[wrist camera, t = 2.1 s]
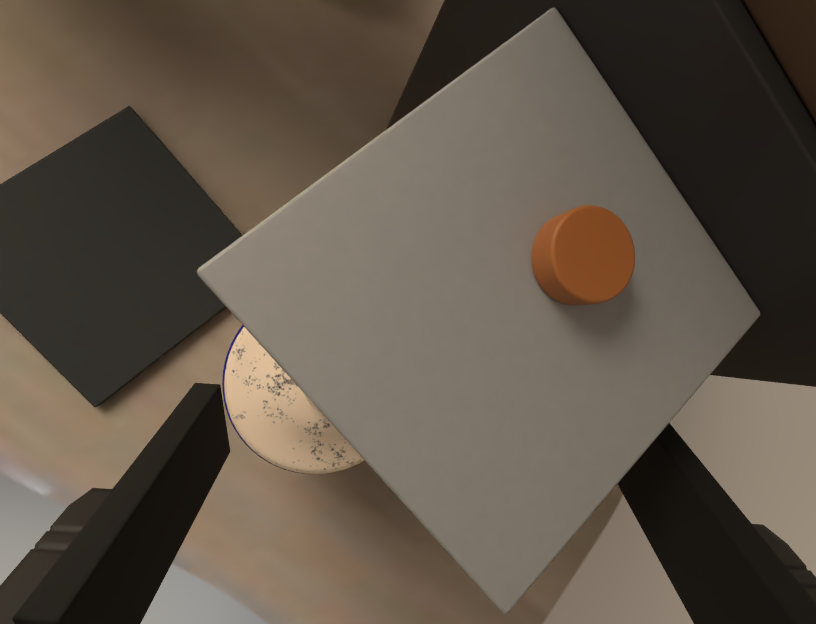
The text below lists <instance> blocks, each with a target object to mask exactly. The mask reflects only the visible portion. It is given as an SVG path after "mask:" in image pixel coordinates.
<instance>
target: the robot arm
mask: <svg viewBox="0 0 816 624" xmlns="http://www.w3.org/2000/svg"><path fill="white" fill-rule="evenodd" d="M229 453H230V447H229V440H228V434H227V427H226V420H225V414H224V407H223V400H222V394H221V387H220V385H218V384H203V383H195V384H194V385H193V386H192V388H191V389H190V390H189V392H188V393H187V394H186V395H185V397H184V398H183V399H182V401H181V402H180V403H179V404H178V406H177V407H176V408H175V410H174V411H173V412H172V413H171V415H170V416H169V417H168V419H167V420H166V421H165V422H164V424H163V425H162V426H161V428H160V429H159V430H158V431H157V433H156V434H155V435H154V437H153V438H152V439H151V440H150V442H149V443H148V444H147V446H146V447H145V448H144V449H143V451H142V452H141V453H140V455H139V456H138V457H137V458H136V460H135V461H134V462H133V464H132V465H131V466H130V467H129V469H128V470H127V471H126V473H125V474H124V475H123V476H122V478H121V479H120V480H119V482H118V483H117V484H116V485H115V487H114V488H113V489H99V488H92V489H91V490H90V491H88V492H87V493H85V494H84V495H83V496H81V497H80V498H79V499H77V500H76V501H74V502H73V503H72V504H70V505H69V506H68V507H67V508H66V510H65V511H64V512H63V513H62V514H61V515H60V517H59V518H58V519H57V520H56V521H55V522H54V523H53V525H52V526H51V529H50V531H47V532H46V533H45V534H44V535H43V536H42V538H41V539H40V540H39V541H38V542H37V543H36V545H35V548H34V549H32V550H30V552H29V553H28V554H27V555H26V556H25V558H24V559H23V560H22V561H21V562H20V563H19V564H18V566H17V567H16V568H15V569H14V570H13V571H12V573H11V574H10V575H9V576H8V577H7V579H6V580H5V581H4V582H3V583H2V585H0V624H140V623H141V621H142V619H143V617H144V616H145V614H146V612H147V610H148V608H149V606H150V604H151V602H152V600H153V598H154V596H155V594H156V593H157V591H158V589H159V587H160V585H161V582H162V581H163V579H164V577H165V575H166V573H167V571H168V569H169V568H170V566H171V564H172V562H173V560H174V558H175V556H176V554H177V552H178V550H179V548H180V547H181V545H182V543H183V541H184V539H185V537H186V535H187V533H188V531H189V529H190V527H191V525H192V524H193V522H194V520H195V518H196V516H197V514H198V512H199V510H200V508H201V506H202V504H203V502H204V501H205V499H206V497H207V495H208V493H209V491H210V489H211V487H212V485H213V483H214V481H215V479H216V478H217V476H218V474H219V472H220V470H221V468H222V466H223V464H224V462H225V460H226V458H227V457H228V455H229ZM618 486H619V487H620V489H621V491H622V493H623V495H624V497H625V498H626V500H627V502H628V504H629V506H630V508H631V509H632V511H633V513H634V515H635V517H636V518H637V520H638V522H639V524H640V526H641V528H642V529H643V531H644V533H645V535H646V537H647V538H648V540H649V542H650V544H651V546H652V548H653V550H654V551H655V553H656V555H657V557H658V559H659V561H660V562H661V564H662V566H663V568H664V569H665V571H666V573H667V575H668V577H669V579H670V580H671V582H672V584H673V586H674V588H675V590H676V591H677V593H678V595H679V597H680V599H681V601H682V603H683V604H684V606H685V608H686V610H687V611H688V613H689V615H690V617H691V619H692V621H693V623H694V624H816V577H815V576H814V575H813V573H812V572H811V571H808V570H807V569H806V565H805V564H804V563H803V562H802V561H801V559H799V557H798V556H797V555H796V554H795V553H794V551H793V550H792V549H791V548H790V547H789V545H788V544H787V543H785V542H784V541H783V540H781V539H780V538H779V537H778V536H777V535H775V534H774V533H773V532H771V531H770V530H769V529H768V528H767V527H765V526H764V525H758V524H751V523H750V521H749V520H748V519H747V518H746V517H745V515H744V514H743V513H742V512H741V510H740V509H739V508H738V507H737V505H736V504H735V503H734V502H733V501H732V499H731V498H730V497H729V496H728V494H727V493H726V492H725V491H724V490H723V488H722V487H721V486H720V485H719V483H718V482H717V481H716V480H715V479H714V477H713V476H712V475H711V474H710V472H709V471H708V470H707V469H706V468H705V466H704V465H703V464H702V463H701V461H700V460H699V459H698V458H697V456H696V455H695V454H694V453H693V452H692V450H691V449H690V448H689V447H688V446H687V444H686V443H685V442H684V441H683V439H682V438H681V437H680V436H679V434H678V433H677V432H676V431H675V429H674V428H673V427H672V426H671V425H670V423H669V424H668V425H667V426H666V427H665V428H664V430H663V431H662V432H661V433H660V434H659V435H658V437H657V438H656V439H655V440H654V441H653V442H652V444H651V445H650V446H649V447H648V448H647V450H646V451H645V452H644V453H643V454H642V455H641V457H640V458H639V459H638V460H637V461H636V463H635V464H634V465H633V466H632V467H631V468H630V470H629V471H628V472H627V473H626V474H625V476H624V477H623V478H622V479H621V480H620V481H619V483H618Z"/></svg>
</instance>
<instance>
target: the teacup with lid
mask: <svg viewBox="0 0 816 624" xmlns="http://www.w3.org/2000/svg"><path fill="white" fill-rule="evenodd" d="M223 396H224V402H225V406H226V410H227V413H228V416H229V419H230V421H231V423H232V425H233V427H234V429H235V430H236V432H237V433H238V435H239V437H240V438H241V439H242V440H243V442H244V443H245V444H246V445H247V446H248V447H249V448H250V449H251V450H252V451H253V452H254V453H256V454H257V455H258V456H259V457H261V458H262V459H264V460H266V461H267V462H269V463H271V464H273V465H275V466H277V467H280V468H282V469H285V470H289V471H292V472H297V473H303V474H325V473H332V472H336V471H341V470H344V469H347V468H350V467H352V466H354V465H357V464H359V463H361V462H362V461H364V459H363V458H362V457H361V456H360V455H359V454H358V452H357V451H356V450H355V449H354V448H353V447H352V446H351V445H350V444H349V442H348V441H347V440H346V439H345V438H344V437H343V436H342V435H341V434H340V432H339V431H338V430H337V429H336V428H335V427H334V426H333V425H332V424H331V422H330V421H329V420H328V419H327V418H326V417H325V416H324V415H323V414H322V412H321V411H320V410H319V409H318V408H317V407H316V406H315V405H314V404H313V402H312V401H311V400H310V399H309V398H308V397H307V396H306V395H305V394H304V393H303V391H302V390H301V389H300V388H299V387H298V386H297V385H296V384H295V383H294V381H293V380H292V379H291V378H290V377H289V376H288V375H287V374H286V373H285V371H284V370H283V369H282V368H281V367H280V366H279V365H278V364H277V363H276V361H275V360H274V359H273V358H272V357H271V356H270V355H269V354H268V353H267V351H266V350H265V349H264V348H263V347H262V346H261V345H260V344H259V343H258V341H257V340H256V339H255V338H254V337H253V336H252V335H251V334H250V333H249V331H248V330H247V329H246V328H245V327H244V326H243V325H242V326H241V328H240V330H239V331H238V333H237V334H236V336H235V338H234V340H233V341H232V343H231V346H230V348H229V351H228V354H227V357H226V360H225V365H224V371H223Z"/></svg>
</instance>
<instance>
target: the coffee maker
mask: <svg viewBox="0 0 816 624" xmlns="http://www.w3.org/2000/svg"><path fill="white" fill-rule="evenodd" d="M197 274H198V276H199V277H200V278H201V279H202V280H203V281H204V283H205V284H206V285H207V286H208V287H209V288H210V289H211V290H212V291H213V293H214V294H215V295H216V296H217V297H218V298H219V299H220V300H221V301H222V303H223V304H224V305H225V306H226V307H227V308H228V309H229V310H230V311H231V313H232V314H233V315H234V316H235V317H236V318H237V319H238V320H239V321H240V323H241V324H242V325H243V326H244V327H245V328H246V329H247V330H248V331H249V333H250V334H251V335H252V336H253V337H254V338H255V339H256V340H257V341H258V343H259V344H260V345H261V346H262V347H263V348H264V349H265V350H266V351H267V353H268V354H269V355H270V356H271V357H272V358H273V359H274V360H275V361H276V363H277V364H278V365H279V366H280V367H281V368H282V369H283V370H284V371H285V373H286V374H287V375H288V376H289V377H290V378H291V379H292V380H293V381H294V383H295V384H296V385H297V386H298V387H299V388H300V389H301V390H302V391H303V393H304V394H305V395H306V396H307V397H308V398H309V399H310V400H311V401H312V402H313V404H314V405H315V406H316V407H317V408H318V409H319V410H320V411H321V412H322V414H323V415H324V416H325V417H326V418H327V419H328V420H329V421H330V422H331V424H332V425H333V426H334V427H335V428H336V429H337V430H338V431H339V432H340V434H341V435H342V436H343V437H344V438H345V439H346V440H347V441H348V442H349V444H350V445H351V446H352V447H353V448H354V449H355V450H356V451H357V452H358V454H359V455H360V456H361V457H362V458H363V459H364V460H365V461H366V462H367V464H368V465H369V466H370V467H371V468H372V469H373V470H374V471H375V472H376V474H377V475H378V476H379V477H380V478H381V479H382V480H383V481H384V482H385V484H386V485H387V486H388V487H389V488H390V489H391V490H392V491H393V492H394V494H395V495H396V496H397V497H398V498H399V499H400V500H401V501H402V502H403V504H404V505H405V506H406V507H407V508H408V509H409V510H410V511H411V512H412V514H413V515H414V516H415V517H416V518H417V519H418V520H419V521H420V522H421V524H422V525H423V526H424V527H425V528H426V529H427V530H428V531H429V532H430V534H431V535H432V536H433V537H434V538H435V539H436V540H437V541H438V542H439V544H440V545H441V546H442V547H443V548H444V549H445V550H446V551H447V552H448V553H449V555H450V556H451V557H452V558H453V559H454V560H455V561H456V562H457V563H458V565H459V566H460V567H461V568H462V569H463V570H464V571H465V572H466V573H467V575H468V576H469V577H470V578H471V579H472V580H473V581H474V582H475V583H476V585H477V586H478V587H479V588H480V589H481V590H482V591H483V592H484V593H485V595H486V596H487V597H488V598H489V599H490V600H491V601H492V602H493V603H494V605H495V606H496V607H497V608H498V609H499V610H500V611H501V612H502V613H504V614H507V613H508V612H509V611H510V610H511V609H512V608H513V607H514V605H515V604H516V603H517V602H518V601H519V599H520V598H521V597H522V596H523V595H524V594H525V592H526V591H527V590H528V589H529V588H530V586H531V585H532V584H533V583H534V582H535V581H536V579H537V578H538V577H539V576H540V575H541V573H542V572H543V571H544V570H545V569H546V568H547V566H548V565H549V564H550V563H551V562H552V560H553V559H554V558H555V557H556V556H557V555H558V553H559V552H560V551H561V550H562V549H563V548H564V546H565V545H566V544H567V543H568V542H569V540H570V539H571V538H572V537H573V536H574V535H575V533H576V532H577V531H578V530H579V529H580V527H581V526H582V525H583V524H584V523H585V522H586V520H587V519H588V518H589V517H590V516H591V514H592V513H593V512H594V511H595V510H596V509H597V507H598V506H599V505H600V504H601V503H602V501H603V500H604V499H605V498H606V497H607V496H608V494H609V493H610V492H611V491H612V490H613V489H614V487H615V486H616V485H617V484H618V483H619V481H620V480H621V479H622V478H623V477H624V476H625V474H626V473H627V472H628V471H629V470H630V468H631V467H632V466H633V465H634V464H635V463H636V461H637V460H638V459H639V458H640V457H641V455H642V454H643V453H644V452H645V451H646V450H647V448H648V447H649V446H650V445H651V444H652V442H653V441H654V440H655V439H656V438H657V437H658V435H659V434H660V433H661V432H662V431H663V430H664V428H665V427H666V426H667V425H668V424H669V422H670V421H671V420H672V419H673V418H674V416H675V415H676V414H677V413H678V412H679V410H680V409H681V408H682V407H683V406H684V405H685V404H686V402H687V401H688V400H689V399H690V398H691V396H692V395H693V394H694V393H695V392H696V391H697V389H698V388H699V387H700V386H701V385H702V383H703V382H704V381H705V380H706V379H707V378H708V376H709V375H716V376H725V377H735V378H743V379H751V380H760V381H770V382H778V383H787V384H796V385H805V386H814V387H816V0H444V2H443V5H442V7H441V9H440V11H439V14H438V16H437V18H436V20H435V22H434V25H433V27H432V29H431V31H430V33H429V36H428V38H427V40H426V42H425V44H424V47H423V49H422V51H421V53H420V55H419V58H418V60H417V62H416V64H415V66H414V69H413V71H412V73H411V75H410V77H409V80H408V82H407V84H406V86H405V88H404V91H403V93H402V95H401V97H400V99H399V102H398V104H397V106H396V108H395V110H394V113H393V115H392V117H391V119H390V121H389V124H388V126H387V128H386V130H385V131H384V132H383V133H381V134H380V135H379V136H377V137H376V138H375V139H373V140H372V141H370V142H369V143H368V144H366V145H365V146H364V147H362V148H361V149H360V150H358V151H357V152H356V153H354V154H353V155H351V156H350V157H349V158H347V159H346V160H345V161H343V162H342V163H341V164H339V165H338V166H336V167H335V168H334V169H332V170H331V171H330V172H328V173H327V174H326V175H324V176H323V177H322V178H320V179H319V180H317V181H316V182H315V183H313V184H312V185H311V186H309V187H308V188H307V189H305V190H304V191H303V192H301V193H300V194H298V195H297V196H296V197H294V198H293V199H292V200H290V201H289V202H288V203H286V204H285V205H284V206H282V207H281V208H279V209H278V210H277V211H275V212H274V213H273V214H271V215H270V216H269V217H267V218H266V219H265V220H263V221H262V222H260V223H259V224H258V225H256V226H255V227H254V228H252V229H251V230H250V231H248V232H247V233H246V234H244V235H243V236H241V237H240V238H239V239H237V240H236V241H235V242H233V243H232V244H231V245H229V246H228V247H227V248H225V249H224V250H222V251H221V252H220V253H218V254H217V255H216V256H214V257H213V258H212V259H210V260H209V261H208V262H206V263H205V264H203V265H202V266H201V267H199V269H198V270H197Z"/></svg>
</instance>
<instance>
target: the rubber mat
mask: <svg viewBox="0 0 816 624" xmlns="http://www.w3.org/2000/svg"><path fill="white" fill-rule="evenodd" d="M241 236H242V235H241V233H240V232H239V231H238V230H237V229H236V228H235V227H234V225H233V224H232V223H231V222H230V221H229V220H228V218H227V217H226V216H225V215H224V214H223V213H222V212H221V210H220V209H219V208H218V207H217V206H216V205H215V204H214V202H213V201H212V200H211V199H210V198H209V197H208V195H207V194H206V193H205V192H204V191H203V190H202V189H201V187H200V186H199V185H198V184H197V183H196V182H195V180H194V179H193V178H192V177H191V176H190V175H189V174H188V172H187V171H186V170H185V169H184V168H183V167H182V165H181V164H180V163H179V162H178V161H177V160H176V159H175V157H174V156H173V155H172V154H171V153H170V152H169V150H168V149H167V148H166V147H165V146H164V145H163V144H162V142H161V141H160V140H159V139H158V138H157V137H156V135H155V134H154V133H153V132H152V131H151V130H150V129H149V127H148V126H147V125H146V124H145V123H144V122H143V120H142V119H141V118H140V117H139V116H138V115H137V114H136V112H135V111H134V110H133V109H132V108H131V107H130V106H128V107H127V108H125V109H123V110H122V111H120V112H118V113H117V114H115V115H114V116H112V117H110V118H109V119H107V120H105V121H104V122H102V123H100V124H99V125H97V126H95V127H94V128H92V129H91V130H89V131H87V132H86V133H84V134H82V135H81V136H79V137H77V138H76V139H74V140H72V141H71V142H69V143H68V144H66V145H64V146H63V147H61V148H59V149H58V150H56V151H54V152H53V153H51V154H49V155H48V156H46V157H45V158H43V159H41V160H40V161H38V162H36V163H35V164H33V165H31V166H30V167H28V168H26V169H25V170H23V171H22V172H20V173H18V174H17V175H15V176H13V177H12V178H10V179H8V180H7V181H5V182H3V183H2V184H0V313H1V314H2V315H3V316H4V317H5V318H6V319H7V320H8V321H9V322H10V323H11V324H12V325H13V326H14V327H15V328H16V329H17V330H18V331H19V332H20V333H21V334H22V335H23V336H24V337H25V338H26V339H27V340H28V341H29V342H30V343H31V344H32V345H33V346H34V347H35V348H36V349H37V350H38V351H39V352H40V353H41V354H42V355H43V356H44V357H45V358H46V359H47V360H48V361H49V362H50V363H51V364H52V365H53V366H54V367H55V368H56V369H57V370H58V371H59V372H60V373H61V374H62V375H63V376H64V377H65V378H66V379H67V380H68V381H69V382H70V383H71V384H72V385H73V386H74V387H75V388H76V389H77V390H78V391H79V392H80V393H81V394H82V395H83V396H84V397H85V398H86V399H87V400H88V401H89V402H90V403H91V404H92V405H93V406H94V407H97V406H100V405H101V404H102V403H103V402H105V401H106V400H107V399H109V398H110V397H111V396H113V395H114V394H115V393H116V392H118V391H119V390H120V389H122V388H123V387H124V386H125V385H127V384H128V383H129V382H131V381H132V380H133V379H134V378H136V377H137V376H138V375H140V374H141V373H142V372H144V371H145V370H146V369H147V368H149V367H150V366H151V365H153V364H154V363H155V362H156V361H158V360H159V359H160V358H162V357H163V356H164V355H165V354H167V353H168V352H169V351H171V350H172V349H173V348H175V347H176V346H177V345H178V344H180V343H181V342H182V341H184V340H185V339H186V338H187V337H189V336H190V335H191V334H193V333H194V332H195V331H196V330H198V329H199V328H200V327H202V326H203V325H204V324H205V323H207V322H208V321H209V320H211V319H212V318H213V317H215V316H216V315H217V314H218V313H220V312H221V311H222V310H224V309H225V308H226V306H225V305H224V304H223V303H222V301H221V300H220V299H219V298H218V297H217V296H216V295H215V294H214V293H213V291H212V290H211V289H210V288H209V287H208V286H207V285H206V284H205V283H204V281H203V280H202V279H201V278H200V277H199V276H198V274H197V270H198V269H199V267H201V266H202V265H203V264H205V263H206V262H208V261H209V260H210V259H212V258H213V257H214V256H216V255H217V254H218V253H220V252H221V251H222V250H224V249H225V248H227V247H228V246H229V245H231V244H232V243H233V242H235V241H236V240H237V239H239V238H240V237H241Z"/></svg>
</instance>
